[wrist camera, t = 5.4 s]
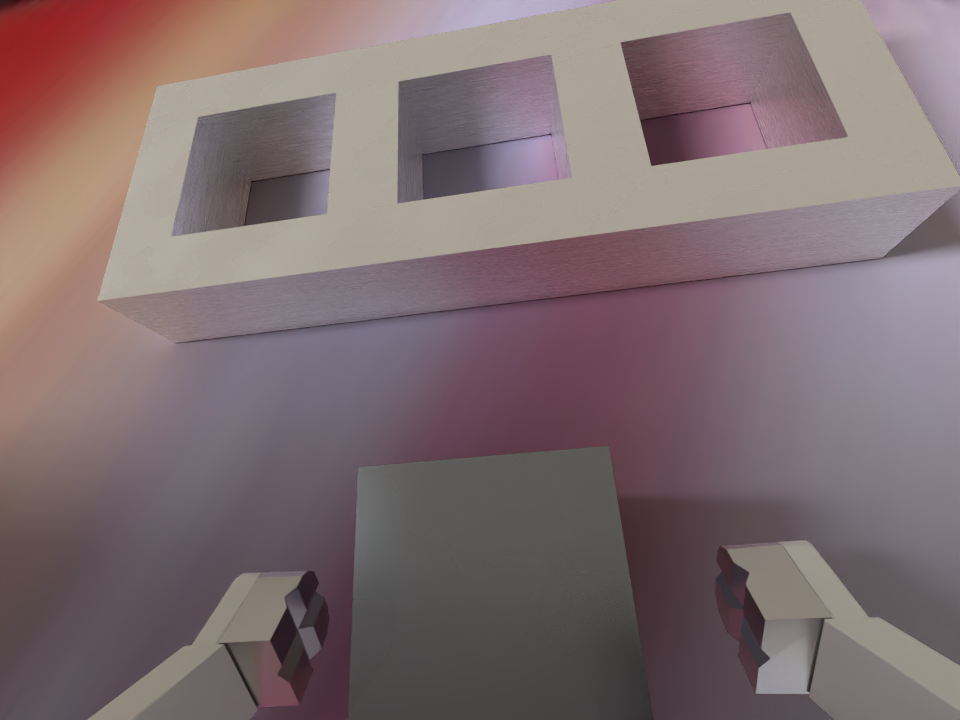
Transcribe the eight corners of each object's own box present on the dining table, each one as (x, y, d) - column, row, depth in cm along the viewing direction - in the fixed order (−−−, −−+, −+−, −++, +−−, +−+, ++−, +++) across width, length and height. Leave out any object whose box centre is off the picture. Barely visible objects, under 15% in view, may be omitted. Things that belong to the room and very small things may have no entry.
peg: (458, 651, 14) (345, 776, 6) (453, 506, 15) (357, 466, 8) (600, 645, 13) (661, 774, 6) (580, 496, 15) (608, 445, 7)
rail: (175, 342, 19) (97, 300, 16) (213, 151, 23) (157, 86, 19) (881, 258, 16) (964, 185, 13) (791, 55, 20) (838, -41, 16)
